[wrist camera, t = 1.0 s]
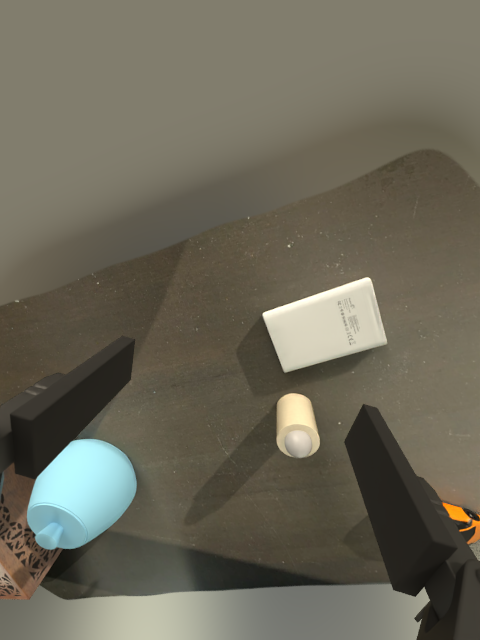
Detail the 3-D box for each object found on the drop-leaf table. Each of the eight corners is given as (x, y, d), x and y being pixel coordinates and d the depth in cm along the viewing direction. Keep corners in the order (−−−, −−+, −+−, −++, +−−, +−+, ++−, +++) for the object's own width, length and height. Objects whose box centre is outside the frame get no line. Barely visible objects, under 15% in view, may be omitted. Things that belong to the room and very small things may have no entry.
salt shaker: (289, 386, 35) (293, 428, 28) (320, 404, 35) (332, 450, 28) (269, 412, 37) (268, 457, 29) (299, 428, 37) (305, 477, 30)
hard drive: (262, 311, 32) (366, 276, 29) (284, 367, 34) (382, 340, 31) (262, 315, 31) (371, 278, 28) (284, 374, 33) (388, 345, 30)
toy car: (406, 548, 42) (417, 573, 39) (375, 498, 39) (383, 520, 36) (488, 529, 39) (506, 555, 36) (459, 474, 36) (476, 496, 33)
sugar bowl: (50, 473, 47) (-17, 546, 36) (73, 417, 42) (1, 482, 31) (124, 511, 48) (80, 594, 37) (155, 460, 43) (114, 539, 32)
